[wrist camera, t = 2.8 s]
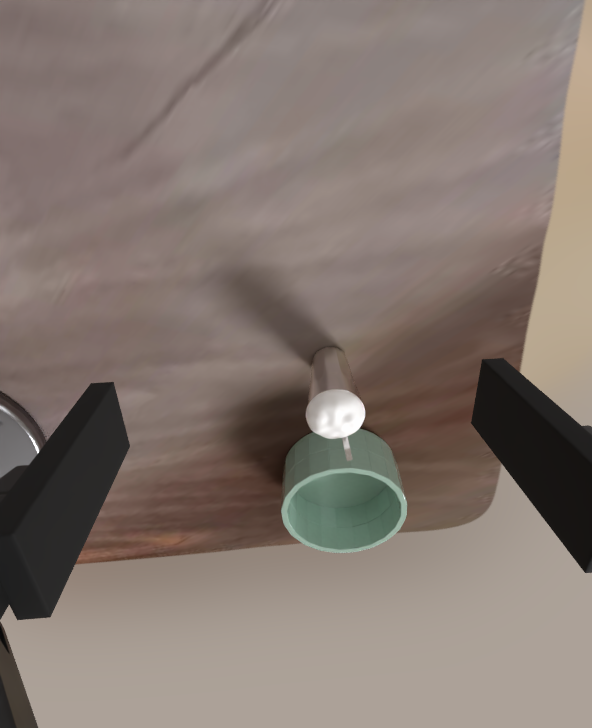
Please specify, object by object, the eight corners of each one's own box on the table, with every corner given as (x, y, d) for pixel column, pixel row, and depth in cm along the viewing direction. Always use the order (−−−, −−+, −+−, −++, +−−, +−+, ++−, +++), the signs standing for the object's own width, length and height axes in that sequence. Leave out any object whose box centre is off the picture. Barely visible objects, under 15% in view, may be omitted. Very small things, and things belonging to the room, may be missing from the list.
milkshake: (317, 393, 42) (321, 468, 33) (298, 348, 39) (297, 416, 31) (362, 380, 41) (378, 453, 32) (345, 333, 38) (358, 399, 30)
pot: (290, 510, 50) (289, 556, 45) (277, 430, 44) (273, 473, 39) (394, 503, 50) (405, 549, 44) (396, 421, 43) (408, 463, 38)
